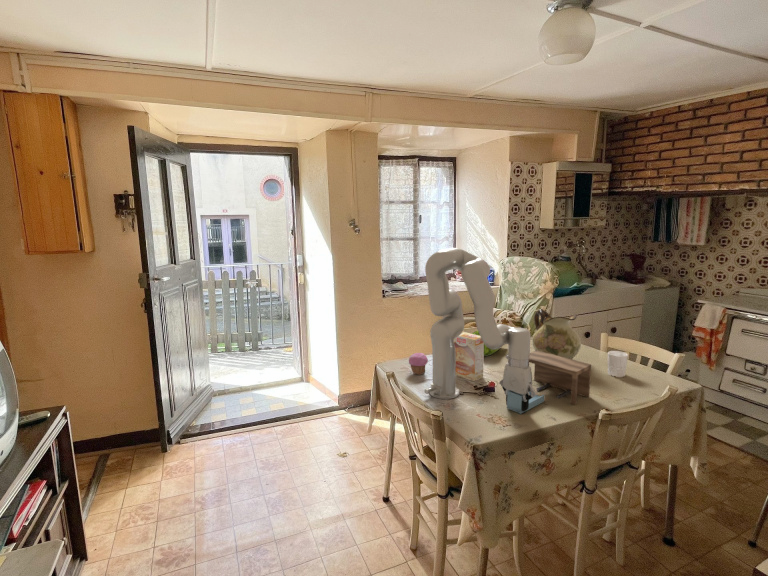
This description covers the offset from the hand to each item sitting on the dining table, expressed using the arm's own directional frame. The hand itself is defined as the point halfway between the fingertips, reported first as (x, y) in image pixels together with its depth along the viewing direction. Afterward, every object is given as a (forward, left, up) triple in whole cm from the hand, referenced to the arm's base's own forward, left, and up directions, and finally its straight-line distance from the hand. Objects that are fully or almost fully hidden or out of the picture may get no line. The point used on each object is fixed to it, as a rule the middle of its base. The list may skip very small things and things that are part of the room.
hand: (516, 406), depth 157 cm
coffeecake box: (+13, +36, -2) cm, 38 cm away
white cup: (+64, -9, -2) cm, 65 cm away
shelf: (+26, 0, -1) cm, 26 cm away
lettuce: (+49, +49, -2) cm, 69 cm away
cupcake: (-2, +52, -2) cm, 52 cm away
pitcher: (+60, +19, -2) cm, 63 cm away
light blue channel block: (+6, 0, -1) cm, 6 cm away
